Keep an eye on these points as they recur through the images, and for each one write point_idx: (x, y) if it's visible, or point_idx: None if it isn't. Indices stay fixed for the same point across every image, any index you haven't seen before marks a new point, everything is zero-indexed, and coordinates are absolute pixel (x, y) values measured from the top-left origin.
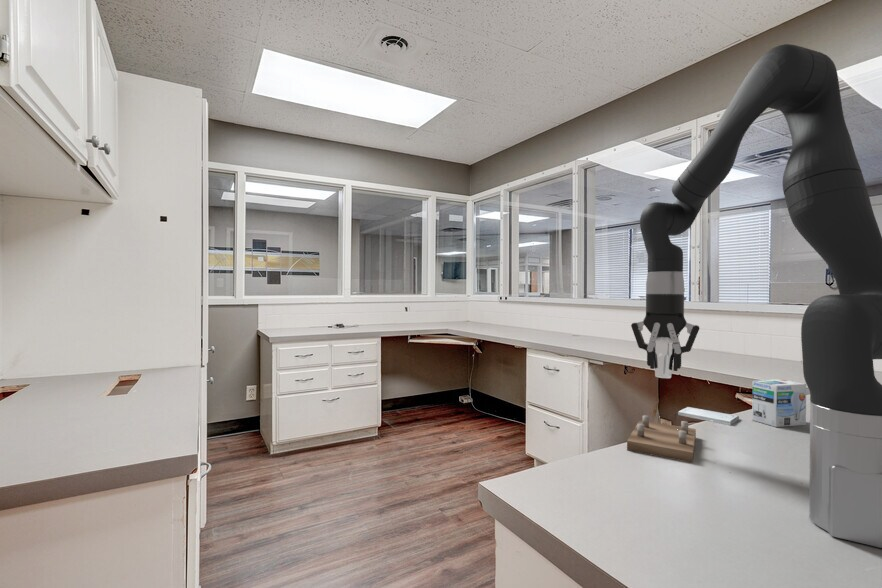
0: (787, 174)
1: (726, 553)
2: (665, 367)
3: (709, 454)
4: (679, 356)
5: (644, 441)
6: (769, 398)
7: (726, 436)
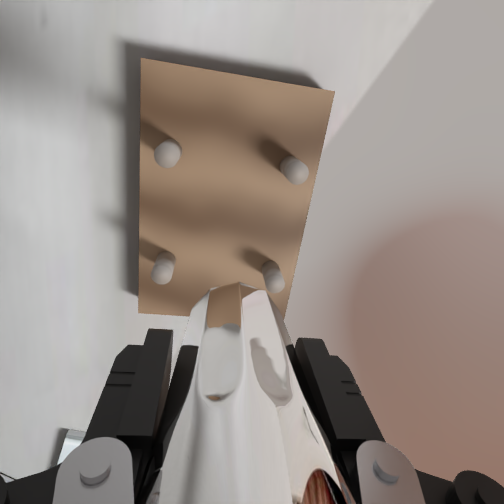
0: None
1: None
2: (226, 322)
3: (105, 169)
4: (101, 428)
5: (282, 109)
6: None
7: (72, 343)
